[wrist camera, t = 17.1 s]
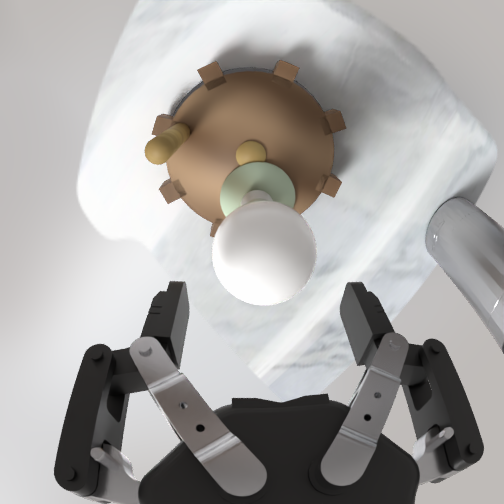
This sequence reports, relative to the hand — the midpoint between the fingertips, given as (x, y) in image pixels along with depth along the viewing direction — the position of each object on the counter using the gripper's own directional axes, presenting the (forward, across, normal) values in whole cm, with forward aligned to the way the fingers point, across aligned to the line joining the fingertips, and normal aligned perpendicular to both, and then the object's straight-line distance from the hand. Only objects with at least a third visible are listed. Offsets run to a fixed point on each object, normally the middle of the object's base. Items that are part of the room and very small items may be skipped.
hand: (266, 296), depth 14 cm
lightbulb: (+12, 0, 0) cm, 12 cm away
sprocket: (+15, +1, -4) cm, 16 cm away
